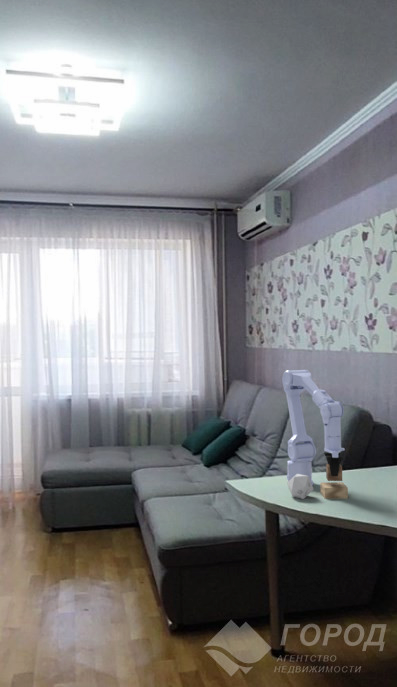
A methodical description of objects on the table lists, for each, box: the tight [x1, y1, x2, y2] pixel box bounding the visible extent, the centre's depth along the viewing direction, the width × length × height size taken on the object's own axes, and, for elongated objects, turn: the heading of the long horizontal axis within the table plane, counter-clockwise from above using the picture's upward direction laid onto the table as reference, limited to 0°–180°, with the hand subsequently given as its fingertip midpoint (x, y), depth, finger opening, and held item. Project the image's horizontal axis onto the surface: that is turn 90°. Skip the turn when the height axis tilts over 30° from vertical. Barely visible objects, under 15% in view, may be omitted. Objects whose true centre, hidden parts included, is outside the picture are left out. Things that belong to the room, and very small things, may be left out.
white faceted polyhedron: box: [286, 474, 314, 500], centre depth 201 cm, size 8×9×10 cm
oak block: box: [319, 481, 349, 500], centre depth 202 cm, size 8×8×4 cm
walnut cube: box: [325, 463, 343, 482], centre depth 202 cm, size 5×5×5 cm
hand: (333, 474), depth 202 cm, fingers closed on walnut cube, 5 cm apart
